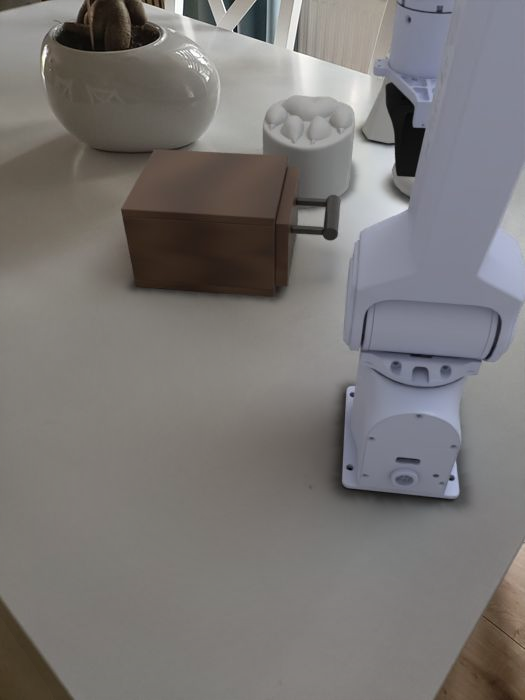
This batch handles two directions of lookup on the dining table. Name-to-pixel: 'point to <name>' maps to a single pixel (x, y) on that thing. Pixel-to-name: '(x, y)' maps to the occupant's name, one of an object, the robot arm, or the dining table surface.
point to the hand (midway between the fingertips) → (408, 173)
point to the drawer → (289, 223)
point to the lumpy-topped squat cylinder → (313, 142)
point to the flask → (380, 118)
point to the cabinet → (205, 221)
